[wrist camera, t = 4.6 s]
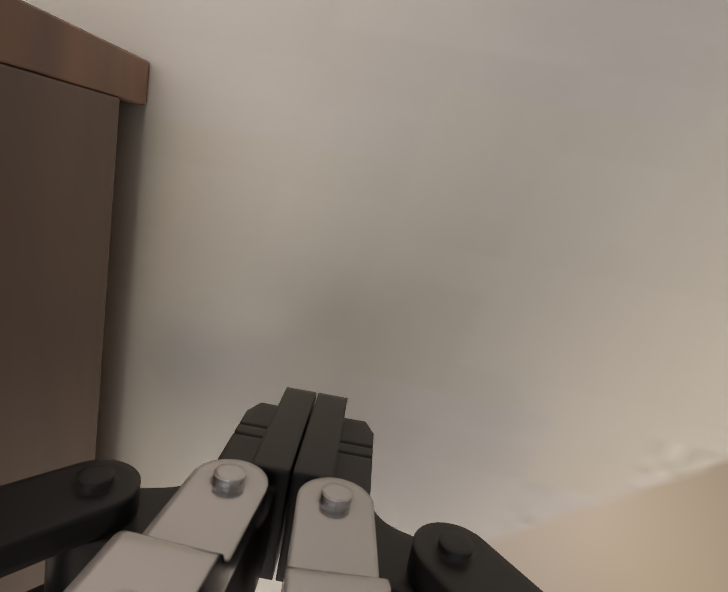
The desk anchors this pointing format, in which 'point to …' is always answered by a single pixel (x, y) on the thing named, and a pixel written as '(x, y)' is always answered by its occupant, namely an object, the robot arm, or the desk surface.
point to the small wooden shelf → (54, 237)
